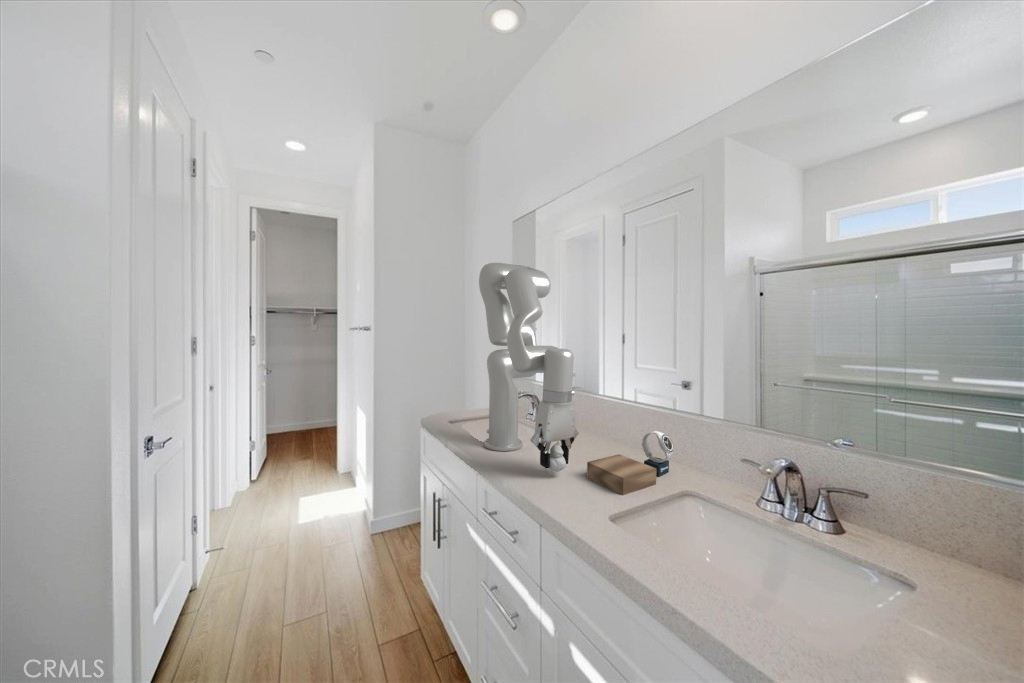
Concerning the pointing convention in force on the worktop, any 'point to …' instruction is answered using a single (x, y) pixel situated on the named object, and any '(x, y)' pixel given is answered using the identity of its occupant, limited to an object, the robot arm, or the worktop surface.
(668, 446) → the watch
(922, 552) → the worktop surface
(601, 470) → the walnut base
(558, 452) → the rubber duck
